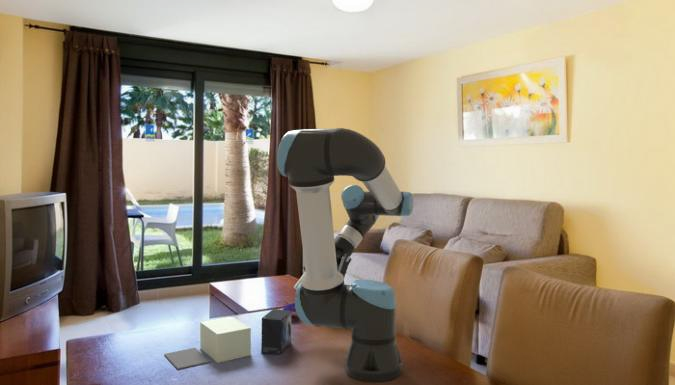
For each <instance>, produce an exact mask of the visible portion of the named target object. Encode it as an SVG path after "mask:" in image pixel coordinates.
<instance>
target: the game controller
mask: <svg viewBox="0 0 675 385" xmlns="http://www.w3.org/2000/svg"><path fill="white" fill-rule="evenodd" d="M281 302H283V303H284V302H285V305H283V308H282V310H288V311H291V316H293V318H294V320H296V319H295V317H294V315H297V312H296V307H295V302H292V301H291V302H290V303H288V302H286V301H284V300H283V301H282V300H281V301H279V302H278V303H277V304H276V307H275V308H278V307H277V306H278V305H279V304H280V303H281ZM295 312H296V314H293V313H295ZM297 316H298V315H297ZM298 320H300V318H298ZM300 321H301V320H300Z"/></svg>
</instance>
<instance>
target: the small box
mask: <svg viewBox="0 0 675 385" xmlns="http://www.w3.org/2000/svg"><path fill="white" fill-rule="evenodd" d="M291 344H292V312H291V311H288V310H283V309H277V308H276V309H274V308H273V309H272V310H270V311H269V312H268V313H266V314H265V315H264V316H262V317H261V344H260V345H261V351H260V352H261V354H267V355H268V354H269V355H270V354H271V355H282V354H283V353H284V351H286V349H287V348H288V347H289V346H290V345H291Z"/></svg>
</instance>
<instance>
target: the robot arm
mask: <svg viewBox="0 0 675 385" xmlns="http://www.w3.org/2000/svg"><path fill="white" fill-rule="evenodd" d="M276 154H277V155H276V163H277V169H278V171H279V173H280V174H281V176H284V177H286V178H288V184H289V185H288V186H290V187H291V188H292V189H293V190H295V192H296V193H295V194H296V201H297V202H296V203H297V211H298V219H299V220H298V221H299V226H300V237H301V243H302V244H301V246H302V255H303V254H304V263H305V266H304V267H303V266H302V270H303V269H304V270H305V272H304V274H303V273H302V275H300V278H299V279H298V280H297V282H296V283H295V285H293V289H294V290H295V295H294V296H295V297H294V298H295V299H294V303H295V307H296V314H297V316H298V319H300V321H301V322H302V323H304V324H306V325H308V326H309V325H310V326H314V327H319V328H320V327H325V328H335V329H342V330H351V343H350V345H349V349H348V351H347V352H348V353H347V356H346V358H345V362H344V371H345V373H346V374H347V375H348V376H349V377H350V378H353V379H356V380H359V381H365V382H375V383H376V382H385V381H387V382H388V381H391V380H394V379H396V378H398V377H400V376H401V375H402V373H403V361H402V359H401V355H400V351H399V348H398V346H397V343H396V332H397V331H396V329H397V328H396V326H397V325H396V324H397V322H396V316H397V314H396V313H397V312H396V311H397V310H396V308H397V303H396V292H395V290H394V288H393V287H392V286H391V285H389V284H387V283H385V282H381V281H379V280H374V279H373V280H372V279H362V278H361V279H354V280H353V281H351V284H345V277H346V274H347V270H348V268H349V265H350V263H351V262H352V260H353V259H352V258H351V256H352V254H354V252H355V249H357V247H358V246H359V244H360V243H362V240H364V237H365V236H366V235H367V234H368V233H369V231H370V230H371V228H373V226H374V225H375V224H376V222H377V220H378V219H379V217H380V216H386V217H387V216H388V217H389V216H391V217H392V216H393V217H406V216H411V215H412V213H413V208H414V196H413V194H412V193H411V192H409V191H403V190H402V191H401V190H400V188H399V187H398V185H397V183H396V182H395V180H394V179H393V176H392V175H391V173H390V171H389V170H388V168H387V166H386V157H385V155H384V153H383V152H382V150H381V149H380V147H379V146H378V145H377V144H376V143H374V142H373V141H372V140H371V139H370V138H368V137H366V136H365V135H363V134H362V133H359V132H357V131H355V130H352V129H350V128H344V127H337V128H307V129H306V128H303V129H295V130H289V131H287V132H286V133H285V134H284V135H283V136H282V138H281V140H280V143H279V146H278V150H277V153H276ZM335 176H336V177H337V176H343V177H344V176H345V177H346V176H348V177H353V178H354V179H355V180H357V181H358V182H362V184H363V185H364V187H365V188H366V189H367V190H368V191H364V189H363V187H362V186H360V185H358V184H351V185H348V186H346V187H345V188H344V189H343V190H342V192H341V194H340V197H341V202H342V206H343V208H344V209H345V212H346V213H347V216H348V218H349V219H348V221H347V222H346V224H344V226H343V227H342V228H341V230H340V231H339V232H338V233H337V236H335V234H334V233H335V232H334V222H333V213H332V202H331V201H332V200H331V190H330V187H331V186H332V185H333V183H334V182H335Z"/></svg>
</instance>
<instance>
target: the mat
mask: <svg viewBox="0 0 675 385" xmlns="http://www.w3.org/2000/svg"><path fill="white" fill-rule="evenodd" d="M163 355H164V357H165V359H167V360H168V361H169V362H170V363H171V364H172V366H174V367H175V368H176V370H177V371H179V370H182V369H183V370H184V369H187V368H190V367H197V366H200V365H205V364H210V363H211V360H210V359H209V358H207V356H205V355H204V354H203V353H202V352H201V351H200V350H199V349H197V348H196V347H191V348H186V349H181V350H177V351H173V352H167V353H164V354H163Z"/></svg>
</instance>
